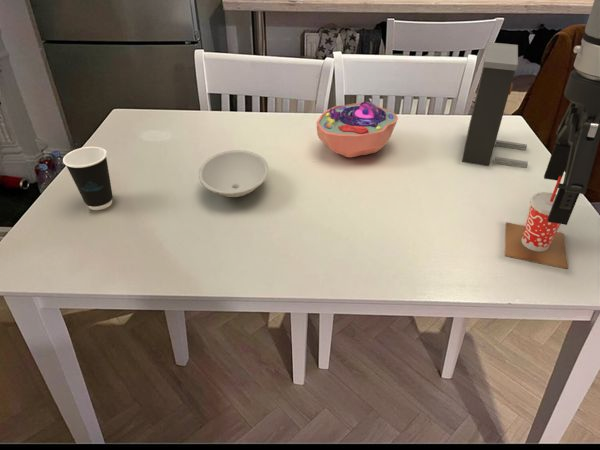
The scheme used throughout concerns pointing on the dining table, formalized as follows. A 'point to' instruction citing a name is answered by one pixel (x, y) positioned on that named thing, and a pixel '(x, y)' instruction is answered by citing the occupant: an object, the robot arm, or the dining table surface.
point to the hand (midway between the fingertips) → (554, 199)
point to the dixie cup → (90, 175)
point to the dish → (233, 172)
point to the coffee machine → (492, 107)
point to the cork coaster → (549, 257)
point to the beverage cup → (540, 222)
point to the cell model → (356, 128)
